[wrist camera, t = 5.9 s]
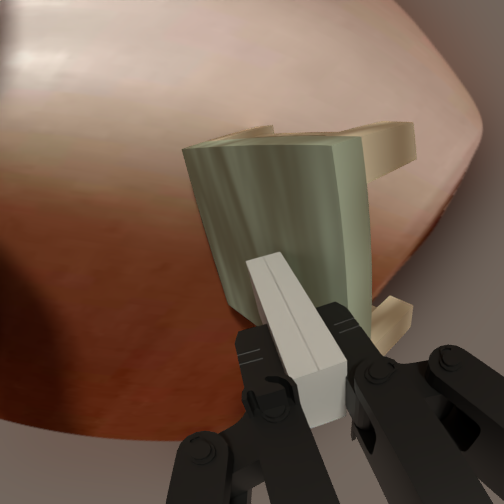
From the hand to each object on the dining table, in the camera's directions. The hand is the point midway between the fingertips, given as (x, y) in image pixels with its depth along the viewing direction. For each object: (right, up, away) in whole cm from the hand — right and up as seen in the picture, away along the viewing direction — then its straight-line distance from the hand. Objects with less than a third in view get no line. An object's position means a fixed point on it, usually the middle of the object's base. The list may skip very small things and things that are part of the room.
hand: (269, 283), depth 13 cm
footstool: (-1, +4, +7) cm, 8 cm away
